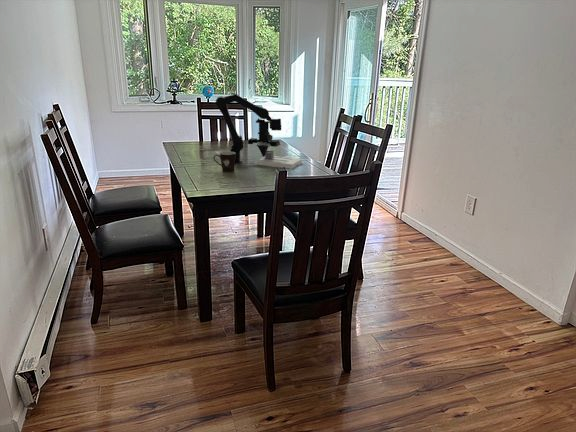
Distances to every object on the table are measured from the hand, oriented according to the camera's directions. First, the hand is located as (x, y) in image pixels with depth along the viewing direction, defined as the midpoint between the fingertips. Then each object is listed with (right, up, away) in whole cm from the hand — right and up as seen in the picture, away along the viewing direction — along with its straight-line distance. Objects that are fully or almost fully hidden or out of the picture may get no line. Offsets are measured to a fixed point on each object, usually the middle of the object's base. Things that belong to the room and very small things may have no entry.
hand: (263, 156), depth 258 cm
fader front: (+3, -1, -1) cm, 4 cm away
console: (+10, -5, -1) cm, 11 cm away
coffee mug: (-20, -11, -20) cm, 30 cm away
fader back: (+3, +1, +5) cm, 6 cm away
